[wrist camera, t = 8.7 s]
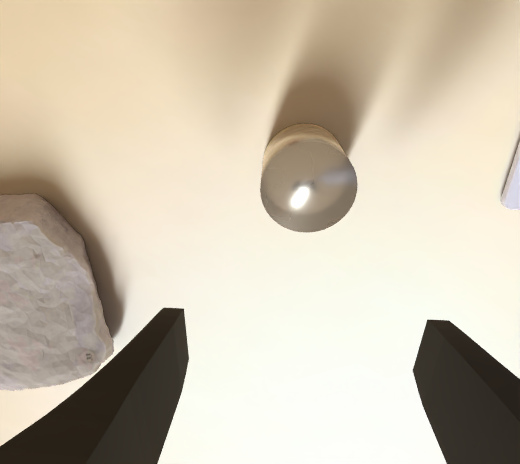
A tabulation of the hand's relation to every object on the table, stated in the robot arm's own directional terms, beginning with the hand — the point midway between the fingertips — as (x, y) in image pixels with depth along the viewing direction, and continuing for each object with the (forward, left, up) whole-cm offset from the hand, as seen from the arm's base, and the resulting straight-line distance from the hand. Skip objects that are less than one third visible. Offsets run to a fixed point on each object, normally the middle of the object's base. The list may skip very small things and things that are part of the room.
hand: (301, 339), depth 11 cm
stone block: (+16, +5, -10) cm, 19 cm away
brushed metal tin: (0, -3, -9) cm, 10 cm away
